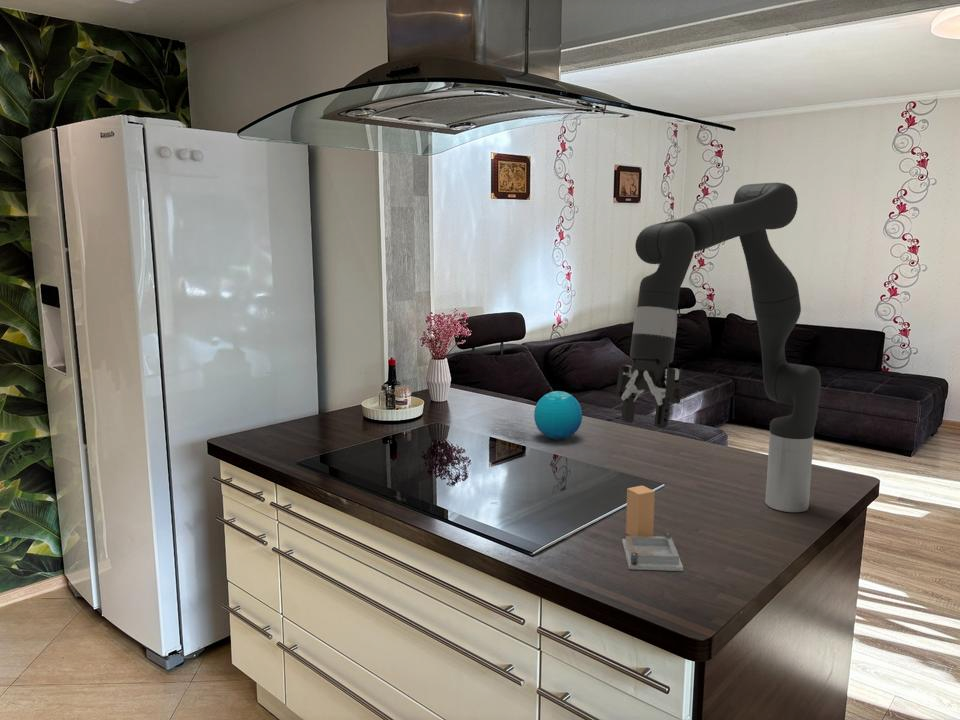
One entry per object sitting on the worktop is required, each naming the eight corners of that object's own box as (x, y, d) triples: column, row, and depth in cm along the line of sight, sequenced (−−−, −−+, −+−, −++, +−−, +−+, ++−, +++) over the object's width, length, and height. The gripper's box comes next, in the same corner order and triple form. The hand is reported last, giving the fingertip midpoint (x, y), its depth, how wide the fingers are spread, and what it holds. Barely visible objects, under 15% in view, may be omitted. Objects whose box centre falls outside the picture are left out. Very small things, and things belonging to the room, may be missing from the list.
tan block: (626, 533, 150) (627, 488, 148) (641, 529, 151) (642, 485, 149) (637, 540, 146) (638, 494, 144) (653, 536, 148) (654, 491, 146)
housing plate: (622, 542, 145) (622, 530, 145) (671, 543, 144) (672, 531, 144) (628, 569, 133) (629, 556, 133) (683, 571, 132) (683, 558, 132)
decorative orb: (569, 448, 211) (570, 399, 208) (525, 441, 218) (525, 393, 216) (589, 436, 223) (590, 389, 221) (547, 429, 231) (547, 384, 228)
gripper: (699, 337, 122) (687, 431, 121) (643, 337, 134) (632, 421, 134) (666, 331, 118) (654, 428, 118) (612, 331, 131) (601, 418, 130)
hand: (643, 424), depth 126 cm, fingers open, 8 cm apart
